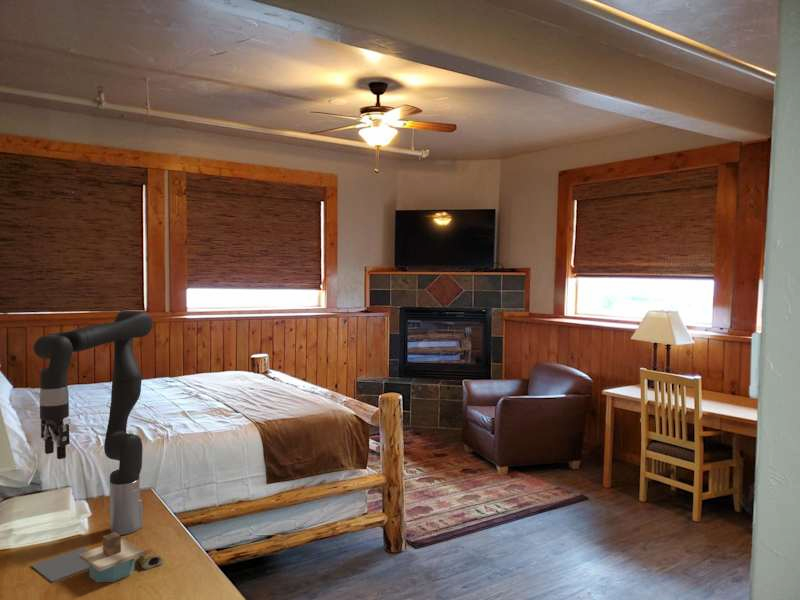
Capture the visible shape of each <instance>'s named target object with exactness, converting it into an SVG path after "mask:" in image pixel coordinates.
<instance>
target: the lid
mask: <svg viewBox="0 0 800 600" xmlns="http://www.w3.org/2000/svg"><path fill="white" fill-rule="evenodd" d="M121 537H122V535H119V534H117V533H116V532H114V533H111V532H110V533H107V534H104V535H103V536H102V545H101V546H98V547H96V548H92V549H89V550H88V551H86V552H83V553H81V554H79V558H81V559H82V560H84V561H85V562H87V563H88V564H90V565H91V566H93V567H94V568H96V569H97V570H99V571H102V570H105V569H107V568H110V567H113V566H115V565H118V564H120V563H123V562H126V561H128V560H131V559H134V558H135V559H136V558H139V557H140V556H141V555H144V554H145V551H144V550H145V549H142V548H140V547H139V546H137V545H135V544H134V543H131V542H130V541H127V540H126V539H125V538H121Z"/></svg>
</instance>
